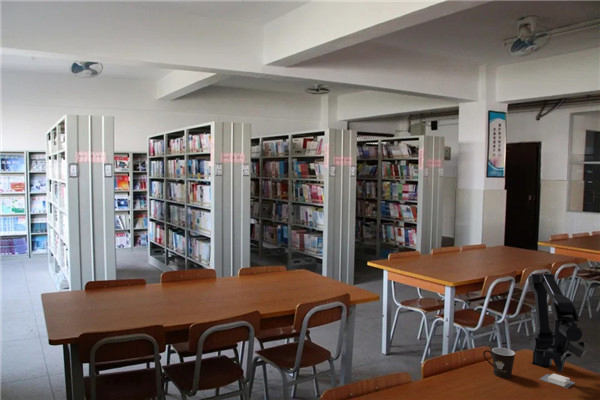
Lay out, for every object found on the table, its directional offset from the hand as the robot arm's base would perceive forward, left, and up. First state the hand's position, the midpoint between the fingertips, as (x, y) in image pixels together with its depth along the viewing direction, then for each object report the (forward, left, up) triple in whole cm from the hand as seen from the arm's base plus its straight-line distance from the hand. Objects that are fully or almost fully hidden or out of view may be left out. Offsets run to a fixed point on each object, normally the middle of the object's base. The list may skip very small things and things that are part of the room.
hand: (559, 371), depth 186 cm
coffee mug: (-19, -11, -5) cm, 22 cm away
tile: (0, +2, -3) cm, 4 cm away
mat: (-1, 0, -4) cm, 5 cm away
